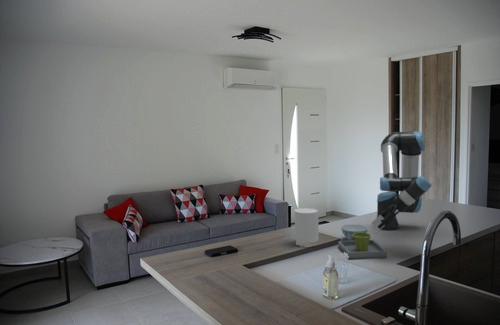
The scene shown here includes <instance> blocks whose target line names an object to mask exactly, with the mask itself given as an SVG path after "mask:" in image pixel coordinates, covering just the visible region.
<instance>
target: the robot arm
mask: <svg viewBox="0 0 500 325" xmlns="http://www.w3.org/2000/svg"><path fill="white" fill-rule="evenodd" d="M398 151H399V152H400V155H402V156H403V162H402V163H403V166H402V167H403V168H402V177H399V176H398V162H397V161H398V160H397V152H398ZM423 151H425V141H424V134H423V133H422V132H421V131H394V132H391V133H389V134H387V135H386V136H385V137H384V139H383V140H382V141H381V144H380V152H381V153H382V172H383V173H382V174H383V175H382V177H380V178H379V189H380V191H381V192H380V193H379V194H377V199H376V202H377V205H376V206H377V210H376V211H377V212H376V218H375V219H373V220H372V221H371V222H370V223H371V224H372V225H373V226H374V227H373V228H371V231H372V232H373V233H374V234H377V233H378V232H379V231H380V230H381V231H394V230H395V231H396V230H398V229H399V228H400V227H399V226H400V225H399V221H398V218H397V215H398V214H399V213H409V214H410V213H411V214H413V213H414V214H415V213H419V212H421V207H422V202H423V198H422V196H423V195H424V194H425V193H426V192H428V191H429V190H430V189H431V187H432V186H433V185H432V183H431V182H430V181H429V180H428V179H426V178H425V177H424V176H423V175H420V176H418V175H419V157H420V155H422V152H423ZM396 192H399V194H398V193H396Z"/></svg>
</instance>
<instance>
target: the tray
mask: <svg viewBox="0 0 500 325" xmlns="http://www.w3.org/2000/svg"><path fill="white" fill-rule="evenodd" d="M337 244H338V249H339V250H340V249H341V250H342V251H341V250H340V251H341V252H342V253H343V252H345V253H347V254H348V256H349V260H364V259H365V260H366V259H368V260H369V259H387V258H388V251H387V249H385V248H384V247H383V246H382V245H380V244H379V243H378V242H376V240H374V239H369V244H368V251H365V252H359V251H356V247H355V240H354V241H349V240H338V243H337Z"/></svg>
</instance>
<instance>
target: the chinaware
mask: <svg viewBox="0 0 500 325" xmlns="http://www.w3.org/2000/svg"><path fill="white" fill-rule="evenodd" d="M340 229H341V232H342V234H343V236H344V237H345V238H346V239H347V240H348V241H354V236H353V234H354V233H359V232H362V233H368V229H369V228H368V227H367V226H364V225H361V224H345V225H342V226H341V228H340Z"/></svg>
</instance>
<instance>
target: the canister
mask: <svg viewBox="0 0 500 325" xmlns="http://www.w3.org/2000/svg"><path fill="white" fill-rule="evenodd" d="M294 239H295V240H296V241H298V242H307V243H308V242H316V241H318V240H319V210H318V208H317V209H316V208H314V207H299V208H296V209H294ZM295 240H294V241H295Z"/></svg>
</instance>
